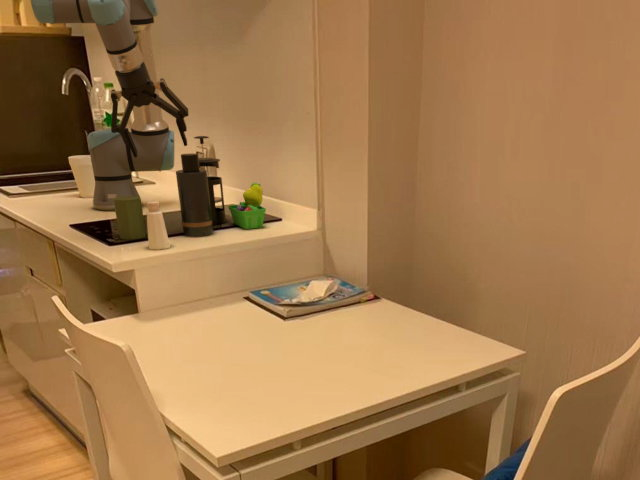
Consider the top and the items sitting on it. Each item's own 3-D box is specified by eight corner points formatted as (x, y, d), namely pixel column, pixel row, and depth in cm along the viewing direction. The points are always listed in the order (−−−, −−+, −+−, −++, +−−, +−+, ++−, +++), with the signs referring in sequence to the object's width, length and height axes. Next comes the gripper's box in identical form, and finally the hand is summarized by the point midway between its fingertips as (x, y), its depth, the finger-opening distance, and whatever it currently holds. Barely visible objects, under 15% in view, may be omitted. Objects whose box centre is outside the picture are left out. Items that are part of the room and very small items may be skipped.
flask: (180, 232, 192) (170, 153, 182) (209, 229, 195) (201, 152, 185) (187, 237, 185) (177, 156, 175) (216, 235, 188) (208, 155, 178)
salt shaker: (156, 250, 173) (149, 204, 167) (144, 247, 176) (137, 202, 170) (174, 246, 176) (168, 201, 171) (162, 243, 179) (155, 199, 174)
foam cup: (106, 196, 247) (99, 156, 240) (80, 199, 242) (72, 158, 236) (98, 193, 254) (91, 154, 247) (73, 195, 249) (65, 156, 243)
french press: (231, 223, 201) (222, 136, 190) (199, 226, 198) (188, 138, 186) (220, 217, 211) (211, 133, 199) (189, 219, 207) (179, 135, 196)
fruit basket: (228, 224, 201) (224, 182, 196) (256, 220, 205) (253, 180, 199) (243, 230, 193) (239, 187, 187) (272, 227, 196) (269, 184, 191)
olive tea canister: (118, 235, 189) (111, 197, 184) (143, 233, 191) (137, 195, 186) (121, 240, 183) (115, 200, 178) (148, 238, 186) (142, 198, 181)
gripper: (77, 84, 164) (114, 166, 181) (179, 61, 164) (207, 146, 181) (79, 70, 169) (115, 151, 186) (179, 47, 168) (205, 131, 185)
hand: (160, 149), depth 183 cm, fingers open, 13 cm apart
